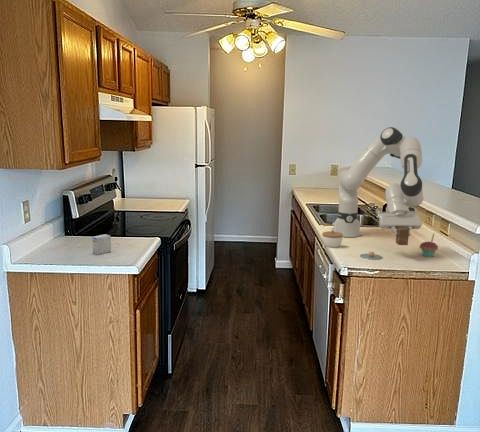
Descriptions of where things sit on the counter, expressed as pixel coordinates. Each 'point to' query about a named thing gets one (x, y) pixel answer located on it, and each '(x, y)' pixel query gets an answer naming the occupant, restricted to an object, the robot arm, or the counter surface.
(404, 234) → the brown rectangular block
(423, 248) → the cupcake
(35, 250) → the counter surface
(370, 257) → the slate saucer
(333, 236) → the lidded jar
